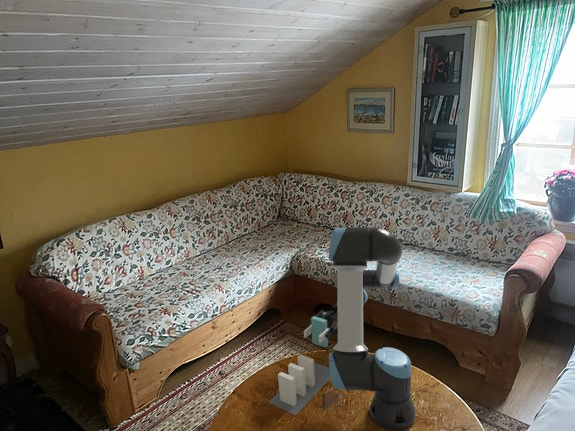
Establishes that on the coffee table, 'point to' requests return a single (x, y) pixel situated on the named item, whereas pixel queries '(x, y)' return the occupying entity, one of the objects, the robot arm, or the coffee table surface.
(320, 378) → the slate runway
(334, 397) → the shard
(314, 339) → the teal domino
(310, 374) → the ivory domino
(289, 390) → the ivory domino
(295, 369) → the ivory domino
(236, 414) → the coffee table surface
